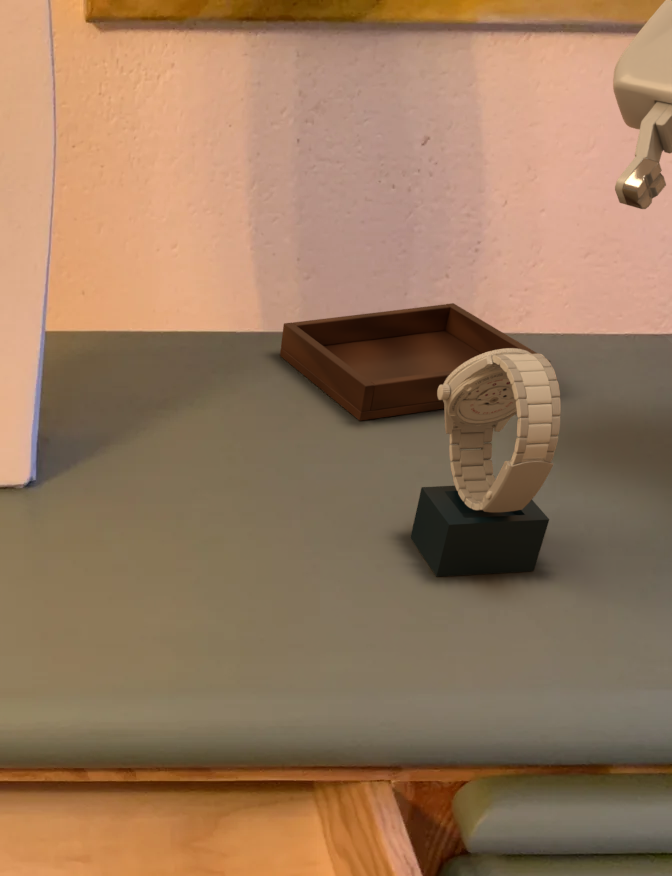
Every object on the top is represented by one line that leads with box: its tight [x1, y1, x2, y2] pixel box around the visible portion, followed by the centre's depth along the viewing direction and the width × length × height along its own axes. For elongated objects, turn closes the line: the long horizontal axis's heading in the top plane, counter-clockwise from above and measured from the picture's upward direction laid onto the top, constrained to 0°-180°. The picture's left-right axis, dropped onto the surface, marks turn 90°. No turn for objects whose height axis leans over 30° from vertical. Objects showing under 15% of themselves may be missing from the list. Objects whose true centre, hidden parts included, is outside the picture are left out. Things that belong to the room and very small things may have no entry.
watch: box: [410, 348, 562, 577], centre depth 61 cm, size 6×8×11 cm
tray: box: [279, 302, 551, 422], centre depth 83 cm, size 14×12×2 cm
